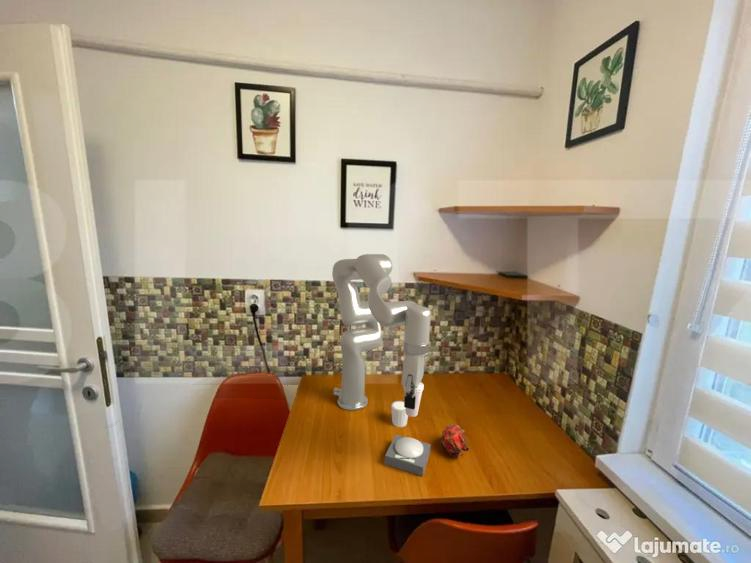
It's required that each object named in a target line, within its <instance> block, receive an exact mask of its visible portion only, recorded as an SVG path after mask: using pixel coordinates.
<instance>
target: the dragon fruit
mask: <svg viewBox="0 0 751 563" xmlns="http://www.w3.org/2000/svg"><path fill="white" fill-rule="evenodd" d="M465 433H466V431H465V429H462V428H461V427H460V426H459V425H458V424H454V423H452V424H451V425H447V426H445V429H442V435H441V441H440V442H441V443H442V444H441V445H442V446H443V447H444V448H445V450H446V452H447V454H448V455H450V456H451V457H454V455H455V456H456V457H457V458H458V457H460V456H462V451H463V452H468V451H469V450H470V446H467V443H466V442H467V440H468V439H467V437H466V436H464V435H465Z"/></svg>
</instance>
